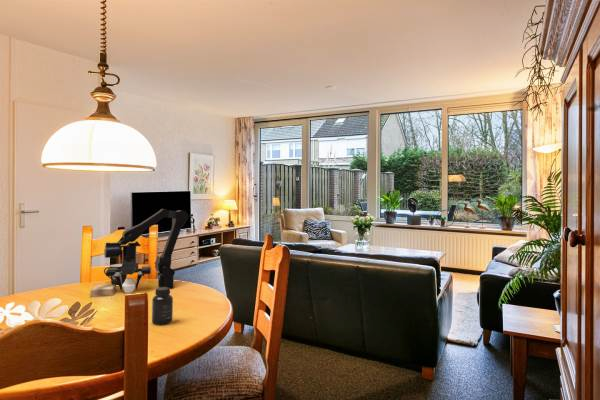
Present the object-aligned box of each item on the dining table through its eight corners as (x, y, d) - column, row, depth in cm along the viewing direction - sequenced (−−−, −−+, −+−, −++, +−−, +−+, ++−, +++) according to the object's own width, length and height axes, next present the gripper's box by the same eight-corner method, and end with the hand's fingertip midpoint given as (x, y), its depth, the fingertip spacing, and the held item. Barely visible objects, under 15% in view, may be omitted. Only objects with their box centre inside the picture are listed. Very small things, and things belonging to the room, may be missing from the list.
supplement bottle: (147, 323, 126) (148, 288, 126) (164, 318, 132) (165, 285, 132) (159, 327, 122) (160, 291, 122) (176, 321, 128) (177, 287, 128)
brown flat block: (115, 291, 171) (116, 284, 171) (113, 295, 162) (113, 288, 162) (94, 292, 168) (94, 285, 168) (90, 297, 159) (90, 289, 159)
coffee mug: (131, 284, 185) (131, 265, 186) (115, 287, 178) (115, 267, 178) (118, 281, 192) (118, 262, 192) (102, 284, 184) (102, 265, 184)
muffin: (119, 292, 169) (119, 277, 169) (132, 290, 173) (132, 275, 174) (125, 294, 165) (125, 279, 165) (138, 292, 169) (138, 277, 170)
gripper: (104, 259, 159) (103, 295, 158) (150, 257, 165) (149, 292, 165) (108, 256, 169) (107, 289, 169) (151, 254, 175) (150, 286, 175)
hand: (128, 289), depth 169 cm, fingers closed on muffin, 6 cm apart
